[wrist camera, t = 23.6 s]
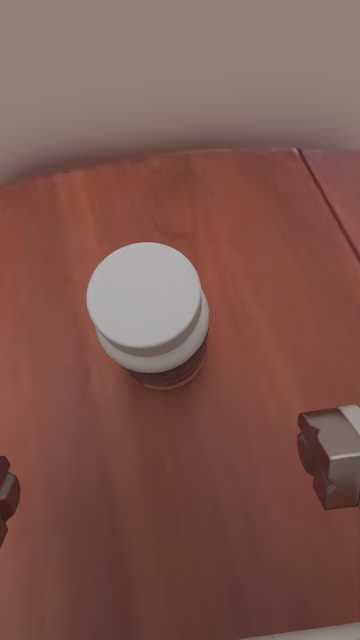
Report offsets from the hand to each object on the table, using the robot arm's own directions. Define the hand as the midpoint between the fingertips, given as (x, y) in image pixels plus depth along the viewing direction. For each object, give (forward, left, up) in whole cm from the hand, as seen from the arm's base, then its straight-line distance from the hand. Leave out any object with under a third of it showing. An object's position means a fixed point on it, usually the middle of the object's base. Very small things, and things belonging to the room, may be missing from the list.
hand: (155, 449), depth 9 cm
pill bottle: (0, -5, -9) cm, 10 cm away
